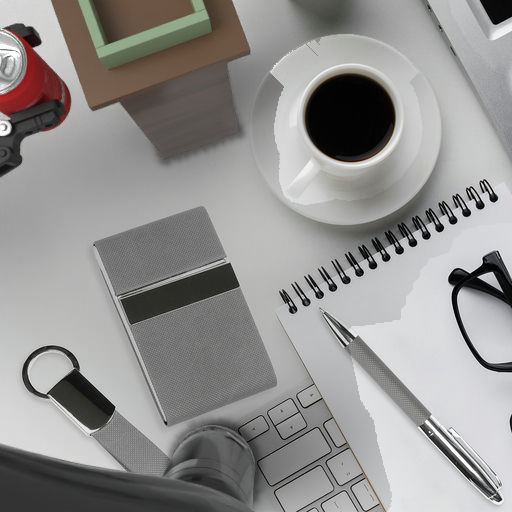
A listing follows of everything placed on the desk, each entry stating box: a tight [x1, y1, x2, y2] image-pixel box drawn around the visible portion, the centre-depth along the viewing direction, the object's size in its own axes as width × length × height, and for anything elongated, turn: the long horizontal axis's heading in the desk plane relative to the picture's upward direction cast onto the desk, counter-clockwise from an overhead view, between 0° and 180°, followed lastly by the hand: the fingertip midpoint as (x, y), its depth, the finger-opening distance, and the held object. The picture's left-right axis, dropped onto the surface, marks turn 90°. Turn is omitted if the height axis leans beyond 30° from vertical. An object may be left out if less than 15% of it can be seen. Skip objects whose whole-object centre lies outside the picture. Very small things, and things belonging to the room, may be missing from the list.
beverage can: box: [0, 27, 72, 133], centre depth 52 cm, size 5×5×12 cm
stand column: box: [118, 63, 239, 160], centre depth 63 cm, size 9×9×29 cm
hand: (48, 70), depth 51 cm, fingers closed on beverage can, 5 cm apart
